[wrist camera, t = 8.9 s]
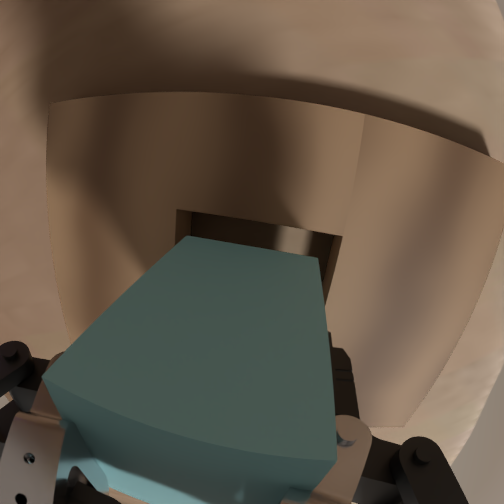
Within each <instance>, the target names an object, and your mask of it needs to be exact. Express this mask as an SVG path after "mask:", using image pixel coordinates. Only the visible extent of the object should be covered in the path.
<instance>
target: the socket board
mask: <svg viewBox="0 0 504 504" xmlns="http://www.w3.org/2000/svg"><path fill="white" fill-rule="evenodd" d="M46 187H47V208H48V222H49V233H50V242H51V250H52V257H53V264H54V270H55V276H56V282H57V287H58V293H59V297H60V302H61V307H62V311H63V316H64V320H65V324H66V328H67V332H68V335H69V339H70V343H71V345H72V344H73V343H74V341H75V340H76V339H77V338H78V337H79V336H80V335H81V334H82V333H83V332H84V331H85V330H86V329H87V328H88V327H89V326H90V325H91V324H92V323H93V322H94V321H95V320H96V319H97V318H98V317H99V316H100V315H101V314H102V313H103V312H104V311H105V310H106V309H108V308H109V307H110V306H111V305H112V304H113V303H114V302H115V301H116V300H117V299H118V298H119V297H120V296H121V295H122V294H123V293H124V292H125V291H126V290H127V289H128V288H129V287H130V286H132V285H133V284H134V283H135V282H136V281H137V280H138V279H139V278H140V277H141V276H142V275H143V274H144V273H145V272H147V271H148V270H149V269H150V268H151V267H152V266H153V265H154V264H155V263H156V262H157V261H159V260H160V259H161V258H162V257H163V256H164V255H165V254H166V253H167V252H169V251H170V250H171V249H172V248H173V247H174V246H175V245H176V244H178V243H179V242H180V241H181V240H182V239H183V238H184V237H185V236H190V235H191V219H192V211H194V212H201V213H208V214H214V215H221V216H227V217H234V218H240V219H247V220H253V221H259V222H265V223H271V224H277V225H283V226H289V227H295V228H300V229H306V230H312V231H317V232H323V233H328V234H334V238H333V242H332V247H331V251H330V255H329V260H328V264H327V268H326V272H325V276H324V280H323V284H322V290H323V297H324V305H325V312H326V321H327V329H328V331H329V332H331V337H332V345H333V347H337V348H343V349H344V350H345V352H346V353H347V355H348V356H349V357H350V359H351V364H352V370H353V371H352V373H353V376H354V382H355V388H356V395H357V402H358V409H359V416H360V420H361V421H363V422H364V423H365V424H366V425H367V426H368V427H404V426H405V424H406V423H407V422H408V421H409V419H410V418H411V416H412V415H413V414H414V412H415V411H416V410H417V408H418V407H419V405H420V404H421V402H422V401H423V400H424V398H425V397H426V395H427V394H428V392H429V391H430V389H431V388H432V386H433V384H434V383H435V381H436V380H437V378H438V376H439V375H440V373H441V371H442V370H443V368H444V366H445V365H446V363H447V361H448V360H449V358H450V356H451V354H452V352H453V351H454V349H455V347H456V345H457V343H458V341H459V339H460V337H461V335H462V334H463V332H464V330H465V327H466V325H467V323H468V321H469V319H470V317H471V315H472V313H473V311H474V308H475V306H476V304H477V301H478V299H479V297H480V294H481V292H482V289H483V287H484V284H485V282H486V279H487V277H488V274H489V271H490V269H491V266H492V263H493V260H494V257H495V254H496V251H497V248H498V245H499V241H500V238H501V235H502V231H503V227H504V163H502V162H500V161H498V160H496V159H493V158H491V157H489V156H487V155H485V154H482V153H480V152H478V151H475V150H473V149H471V148H468V147H466V146H463V145H461V144H458V143H456V142H453V141H451V140H448V139H445V138H443V137H440V136H437V135H434V134H431V133H428V132H426V131H423V130H419V129H416V128H413V127H410V126H407V125H404V124H400V123H397V122H393V121H390V120H386V119H382V118H379V117H375V116H371V115H367V114H363V113H359V112H354V111H350V110H345V109H341V108H336V107H331V106H325V105H320V104H314V103H309V102H302V101H296V100H289V99H282V98H274V97H265V96H256V95H245V94H232V93H214V92H144V93H127V94H114V95H103V96H94V97H86V98H79V99H72V100H65V101H59V102H54V103H50V106H49V116H48V129H47V150H46Z"/></svg>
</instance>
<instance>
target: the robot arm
mask: <svg viewBox="0 0 504 504" xmlns="http://www.w3.org/2000/svg"><path fill="white" fill-rule="evenodd" d="M328 338H329V347H330V357H331V368H332V379H333V391H334V405H335V420H336V439H337V462H336V463H335V464H334V466H333V467H332V468H331V469H330V471H329V472H328V473H327V474H326V476H325V477H324V478H323V479H322V481H321V482H320V483H319V484H318V485H317V487H316V488H315V489H314V490H313V491H311V490H303V489H298V488H293V487H289V489H288V490H287V491H286V493H285V494H284V496H283V497H282V499H281V500H280V502H279V503H278V504H351V502H354V503H358V504H469V503H468V501H467V499H466V497H465V495H464V493H463V491H462V489H461V487H460V485H459V483H458V481H457V479H456V477H455V475H454V473H453V471H452V469H451V468H450V466H449V464H448V462H447V460H446V458H445V456H444V454H443V453H442V451H441V449H440V447H439V446H438V445H437V444H436V443H435V442H434V441H432V440H431V439H428V438H426V437H420V436H418V437H412V438H409V439H408V440H406V441H405V442H404V443H403V444H402V445H398V444H395V443H391V442H387V441H384V440H381V439H378V438H376V437H374V436H373V435H372V434H371V431H370V429H369V428H368V426H367V425H366V424H365V423H364V422H363V421H361V420H360V416H359V409H358V402H357V395H356V388H355V382H354V376H353V373H352V371H353V370H352V364H351V359H350V357H349V356H348V355H347V353H346V352H345V350H344V349H343V348H337V347H333V345H332V337H331V332H329V331H328ZM64 352H65V351H64ZM64 352H61V353H59V354H57V355H55V356H54V357H53V358H52V359H51V360H46V359H40V358H34V357H32V356H31V353H30V351H29V348H28V347H27V345H26V344H24V343H23V342H20V341H10V342H6V343H4V344H2V345H1V346H0V397H1V396H3V395H4V394H6V393H7V392H8V391H9V393H10V395H11V396H12V398H13V400H12V401H11V402H9V403H8V404H7V405H5V406H4V407H3V408H1V409H0V504H121V503H119V502H118V501H117V500H115V499H114V498H112V497H110V496H109V487H108V481H107V477H106V475H105V473H104V472H103V470H102V469H101V467H100V466H99V465H98V464H97V463H96V461H95V460H94V458H93V456H92V455H91V453H90V452H89V450H88V448H87V446H86V444H85V441H84V439H83V437H82V436H81V434H80V432H79V430H78V428H77V426H76V424H75V423H74V422H70V421H67V420H65V419H63V418H61V416H60V414H59V412H58V410H57V408H56V406H55V404H54V402H53V400H52V398H51V396H50V394H49V392H48V390H47V388H46V385H45V383H44V381H43V379H42V375H43V374H44V373H45V372H46V371H47V370H48V369H49V368H50V367H51V366H52V365H53V363H54V362H55V361H56V360H57V359H58V358H59V357H60V356H61V355H62V354H63V353H64Z"/></svg>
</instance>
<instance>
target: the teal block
mask: <svg viewBox="0 0 504 504" xmlns="http://www.w3.org/2000/svg"><path fill="white" fill-rule="evenodd" d="M42 379H43V381H44V383H45V385H46V388H47V390H48V392H49V394H50V396H51V398H52V400H53V402H54V404H55V406H56V408H57V410H58V412H59V414H60V416H61V418H63V419H65V420H67V421H70V422H74V423H75V424H76V426H77V428H78V430H79V432H80V434H81V436H82V437H83V439H84V441H85V444H86V446H87V448H88V450H89V452H90V453H91V455H92V456H93V458H94V460H95V461H96V463H97V464H98V465H99V466H100V467H101V469H102V470H103V472H104V473H105V475H106V477H107V481H108V486H109V487H111V488H113V489H115V490H118V491H120V492H122V493H124V494H127V495H129V496H132V497H134V498H137V499H139V500H142V501H145V502H147V503H150V504H278V503H279V502H280V500H281V499H282V497H283V496H284V494H285V493H286V491H287V490H288V489H289V487H293V488H298V489H303V490H311V491H313V490H314V489H315V488H316V487H317V485H318V484H319V483H320V482H321V481H322V479H323V478H324V477H325V476H326V474H327V473H328V472H329V471H330V469H331V468H332V467H333V466H334V464H335V463H336V462H337V439H336V420H335V405H334V391H333V379H332V368H331V357H330V347H329V338H328V329H327V321H326V312H325V305H324V297H323V290H322V282H321V275H320V269H319V262H318V258H315V257H310V256H304V255H298V254H293V253H287V252H281V251H275V250H269V249H264V248H258V247H252V246H246V245H240V244H234V243H229V242H223V241H217V240H211V239H205V238H199V237H193V236H185V237H184V238H183V239H182V240H181V241H180V242H179V243H178V244H176V245H175V246H174V247H173V248H172V249H171V250H170V251H169V252H167V253H166V254H165V255H164V256H163V257H162V258H161V259H160V260H159V261H157V262H156V263H155V264H154V265H153V266H152V267H151V268H150V269H149V270H148V271H147V272H145V273H144V274H143V275H142V276H141V277H140V278H139V279H138V280H137V281H136V282H135V283H134V284H133V285H132V286H130V287H129V288H128V289H127V290H126V291H125V292H124V293H123V294H122V295H121V296H120V297H119V298H118V299H117V300H116V301H115V302H114V303H113V304H112V305H111V306H110V307H109V308H108V309H106V310H105V311H104V312H103V313H102V314H101V315H100V316H99V317H98V318H97V319H96V320H95V321H94V322H93V323H92V324H91V325H90V326H89V327H88V328H87V329H86V330H85V331H84V332H83V333H82V334H81V335H80V336H79V337H78V338H77V339H76V340H75V341H74V343H73V344H72V345H71V346H70V347H69V348H68V349H67V350H66V351H65V352H64V353H63V354H62V355H61V356H60V357H59V358H58V359H57V360H56V361H55V362H54V363H53V365H52V366H51V367H50V368H49V369H48V370H47V371H46V372H45V373H44V374H43V375H42Z"/></svg>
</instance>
